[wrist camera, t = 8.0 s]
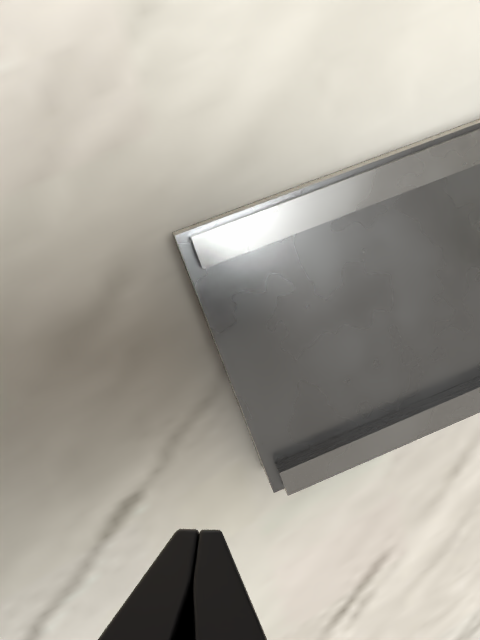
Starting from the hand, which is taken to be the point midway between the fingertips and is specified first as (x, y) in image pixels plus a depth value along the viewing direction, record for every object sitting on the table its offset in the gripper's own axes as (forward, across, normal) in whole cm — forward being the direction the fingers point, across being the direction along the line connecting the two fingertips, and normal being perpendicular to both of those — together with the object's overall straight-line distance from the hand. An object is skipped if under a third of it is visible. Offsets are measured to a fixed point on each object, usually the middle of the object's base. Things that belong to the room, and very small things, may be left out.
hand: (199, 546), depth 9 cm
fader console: (+14, -11, -3) cm, 18 cm away
